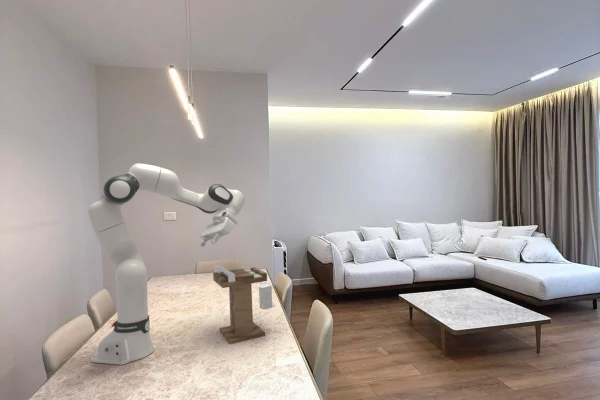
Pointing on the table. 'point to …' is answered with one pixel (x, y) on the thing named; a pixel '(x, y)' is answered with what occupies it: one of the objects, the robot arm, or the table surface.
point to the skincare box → (265, 296)
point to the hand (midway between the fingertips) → (207, 244)
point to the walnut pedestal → (241, 304)
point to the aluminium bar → (224, 273)
